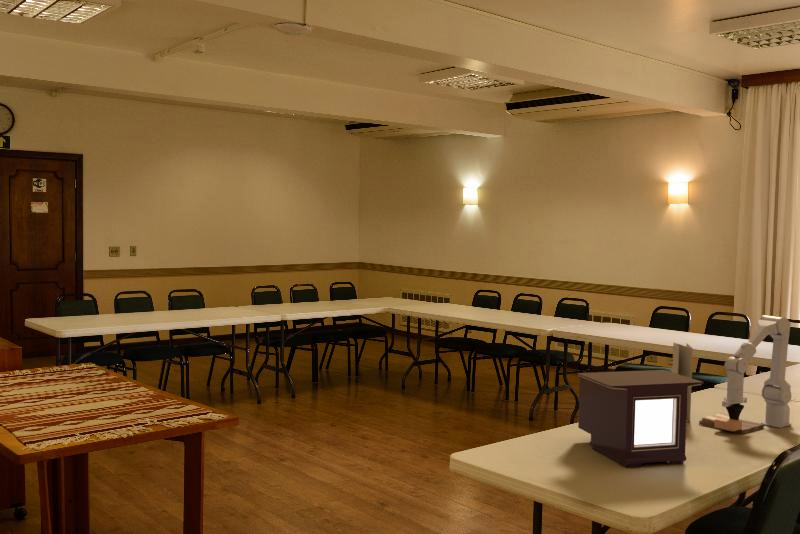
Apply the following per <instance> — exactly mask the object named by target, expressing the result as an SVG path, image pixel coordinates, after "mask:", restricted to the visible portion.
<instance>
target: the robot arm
mask: <svg viewBox="0 0 800 534" xmlns="http://www.w3.org/2000/svg"><path fill="white" fill-rule="evenodd" d="M790 331H791V322H790V320H789V319H788V318H787V317H784V316H775V315H767V314H763V315H762V316H760V318H759V319H758V320H757V328H756V329H755V331H754V332H753V334H752V335H751V337H750V338H749V340H748V342H743V343H741V345H740V347H738V349H737V350H736V351H735V353H734V354H733V355H732V356H730V357H728V358H727V359H726V360H725V362H724V368H725V371H726V373H725V374H726V375H727V379H726V380H727V382H726V383H727V384H726V397H724V398H723V401H721V407H723V408H725V409H726V411H727V413H728V415H729V418H730V419H734V420H738V419H740V416H741V413H742V411H743V410H744V408H745V405H743V403H744V404H747V402H748V398H747V397H744V379H745V378H744V376H745V375H744V374H745V373H746V372H747V371H748V368H749V365H750V361H751V359H752V358H753V357H754V356H755V354H756V353H757V347H758V345H760V344H761V343H762V341H764V340H765V338H766V337H767V336H770V337H771V338H772V339H773V340H772V351H771V352H772V354H771V362H770V373H769V377H768V379H767V380H765V381H764V383H763V387H762V389H761V397H762V398H763V400H764V402H765V421H762V422H760V424H764V426H769V427H773V428H779V429H781V428H786V427H788V426H791V425H792V423H790V413H791V411H790V410H791V408H790V406H789V403H790V401H792V400H791V399H792V392H791V387H792V386H791V385H790V383H789V382H788V381H787V380H786V371H787V370H786V369H787V362H788V361H787V359H788V351H789V349H788V348H789V338H790Z"/></svg>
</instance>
